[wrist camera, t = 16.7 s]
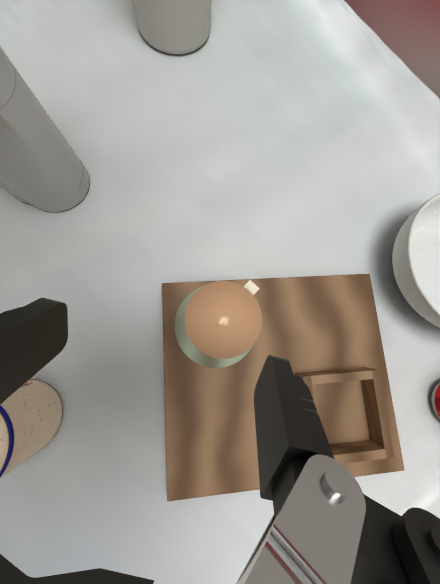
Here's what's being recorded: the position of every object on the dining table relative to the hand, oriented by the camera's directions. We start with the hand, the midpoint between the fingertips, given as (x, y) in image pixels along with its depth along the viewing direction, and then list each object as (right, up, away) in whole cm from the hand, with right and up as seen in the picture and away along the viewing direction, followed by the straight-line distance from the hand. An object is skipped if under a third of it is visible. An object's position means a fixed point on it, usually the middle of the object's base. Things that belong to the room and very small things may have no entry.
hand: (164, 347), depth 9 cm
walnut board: (+10, -9, +23) cm, 27 cm away
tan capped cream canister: (+2, -2, +22) cm, 22 cm away
